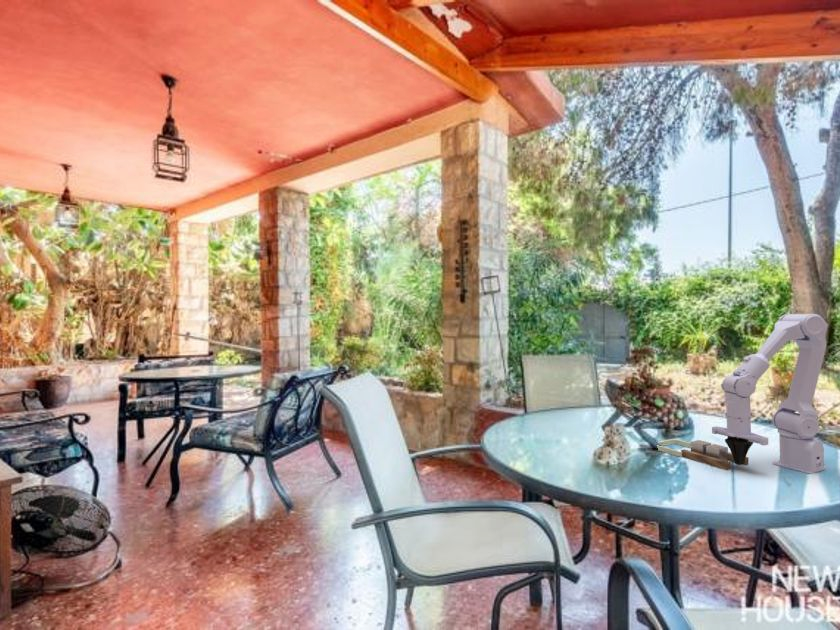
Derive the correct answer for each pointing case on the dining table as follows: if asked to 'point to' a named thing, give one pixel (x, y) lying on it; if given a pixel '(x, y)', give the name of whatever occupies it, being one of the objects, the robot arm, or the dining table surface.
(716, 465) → the slot rails
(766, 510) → the dining table surface
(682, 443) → the beige open frame
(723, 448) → the grey brown cube
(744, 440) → the robot arm
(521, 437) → the dining table surface
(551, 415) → the dining table surface
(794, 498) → the dining table surface
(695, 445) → the greyish beige cube
